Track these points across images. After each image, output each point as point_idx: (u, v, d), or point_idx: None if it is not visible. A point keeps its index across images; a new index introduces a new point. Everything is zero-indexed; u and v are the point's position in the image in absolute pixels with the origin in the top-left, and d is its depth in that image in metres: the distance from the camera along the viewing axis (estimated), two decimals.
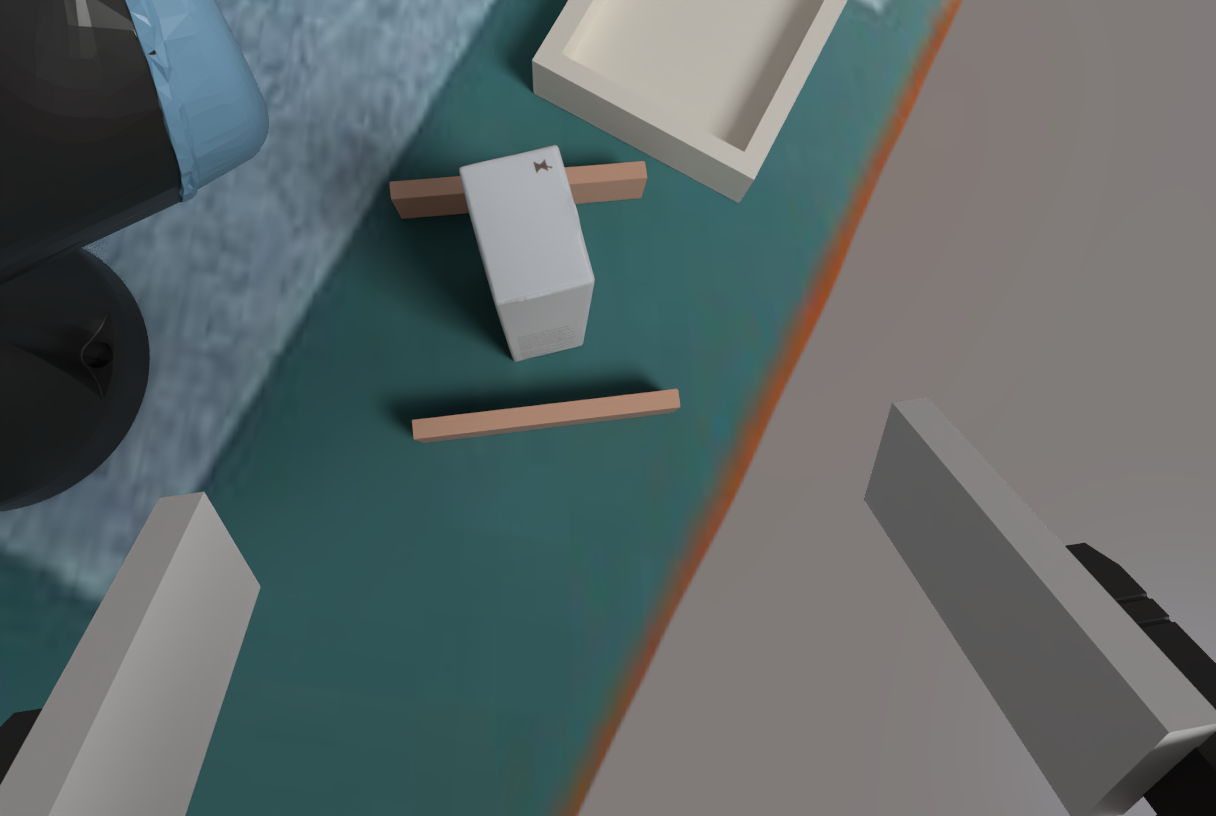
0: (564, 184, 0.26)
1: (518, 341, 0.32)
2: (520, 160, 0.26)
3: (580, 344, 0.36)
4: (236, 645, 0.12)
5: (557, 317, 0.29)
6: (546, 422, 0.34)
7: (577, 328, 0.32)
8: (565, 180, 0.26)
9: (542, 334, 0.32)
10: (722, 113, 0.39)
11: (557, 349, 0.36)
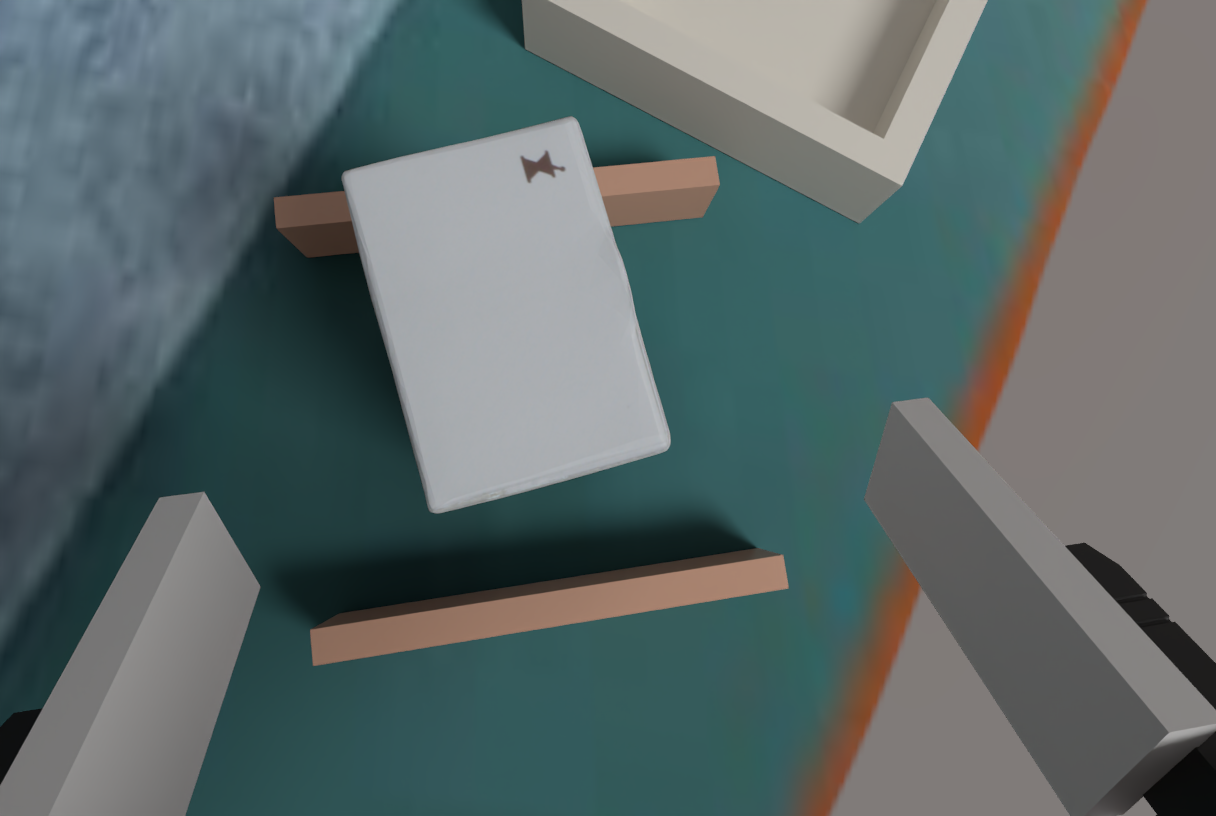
0: (594, 209, 0.11)
1: None
2: (489, 153, 0.11)
3: None
4: (236, 645, 0.12)
5: None
6: (553, 624, 0.19)
7: None
8: (597, 199, 0.11)
9: None
10: (833, 77, 0.24)
11: None
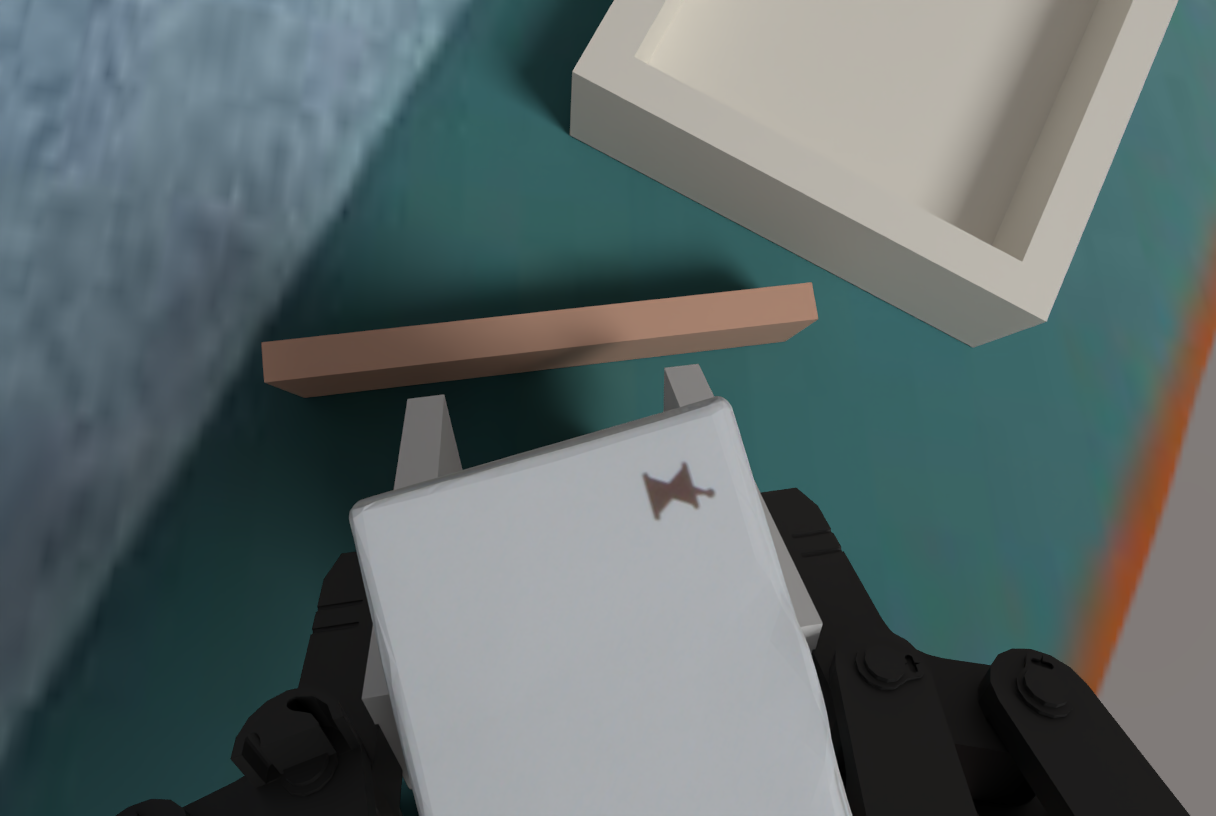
0: (763, 560, 0.07)
1: None
2: (592, 471, 0.07)
3: None
4: None
5: None
6: None
7: None
8: (766, 543, 0.07)
9: None
10: (944, 172, 0.19)
11: None
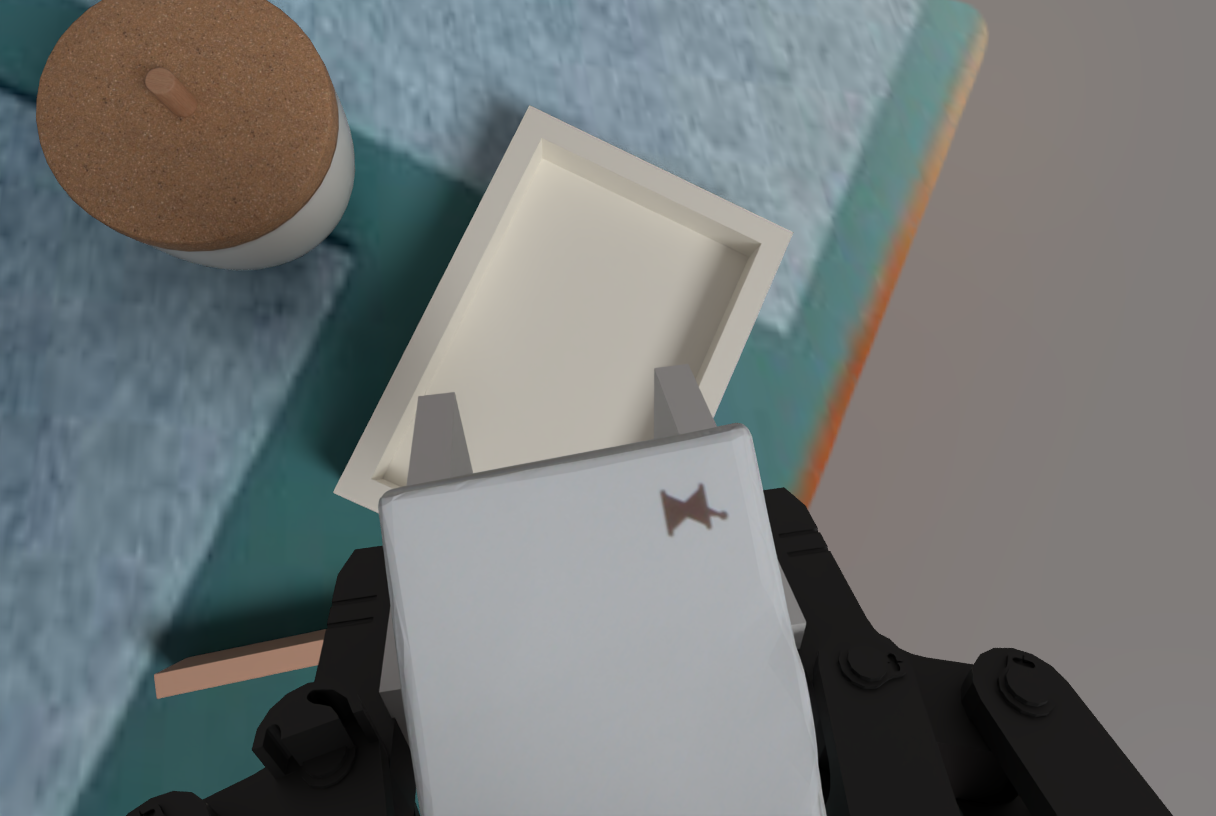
0: (768, 585, 0.07)
1: None
2: (613, 484, 0.07)
3: None
4: None
5: None
6: None
7: None
8: (772, 569, 0.07)
9: None
10: None
11: None
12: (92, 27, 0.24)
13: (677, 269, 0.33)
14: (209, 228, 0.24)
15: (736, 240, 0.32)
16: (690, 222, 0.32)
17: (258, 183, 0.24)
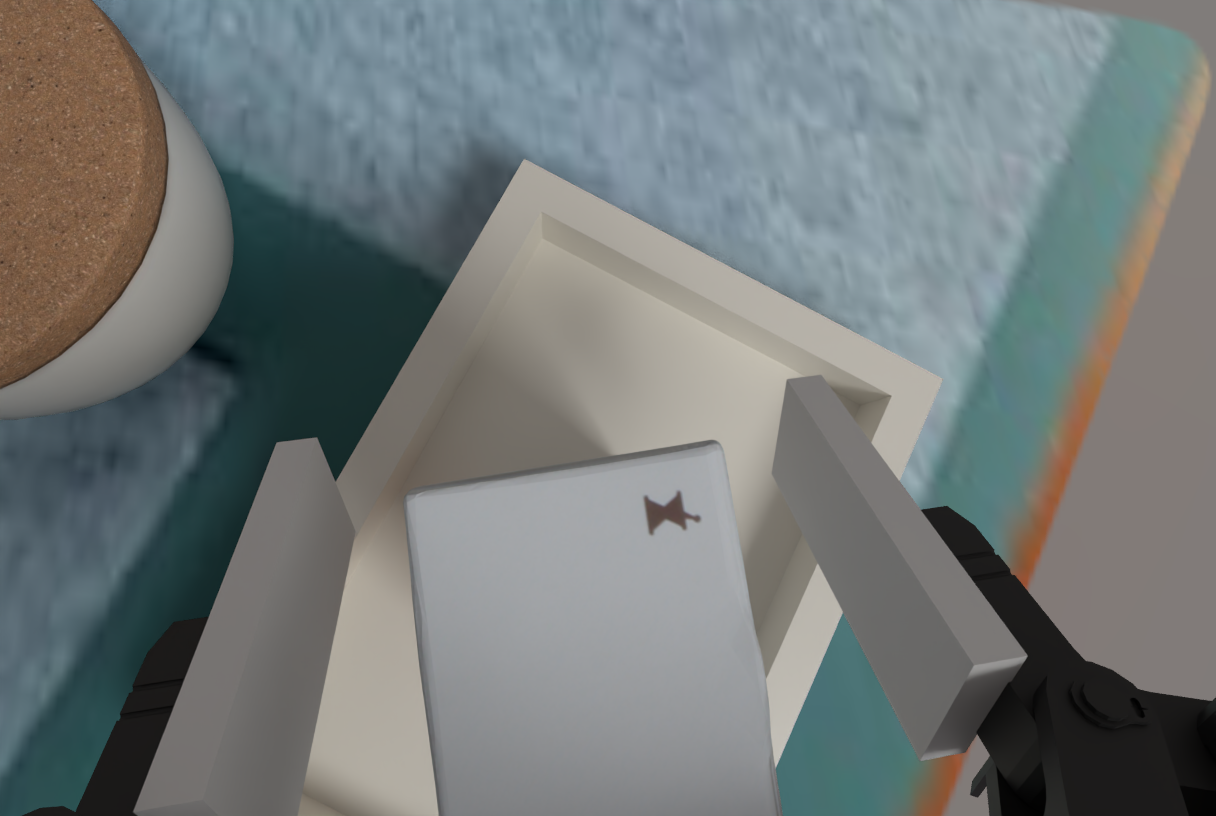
0: (733, 579, 0.08)
1: None
2: (603, 489, 0.08)
3: None
4: (342, 580, 0.13)
5: None
6: None
7: None
8: (737, 566, 0.08)
9: None
10: None
11: None
12: None
13: (747, 421, 0.21)
14: None
15: (846, 384, 0.20)
16: (772, 350, 0.20)
17: None
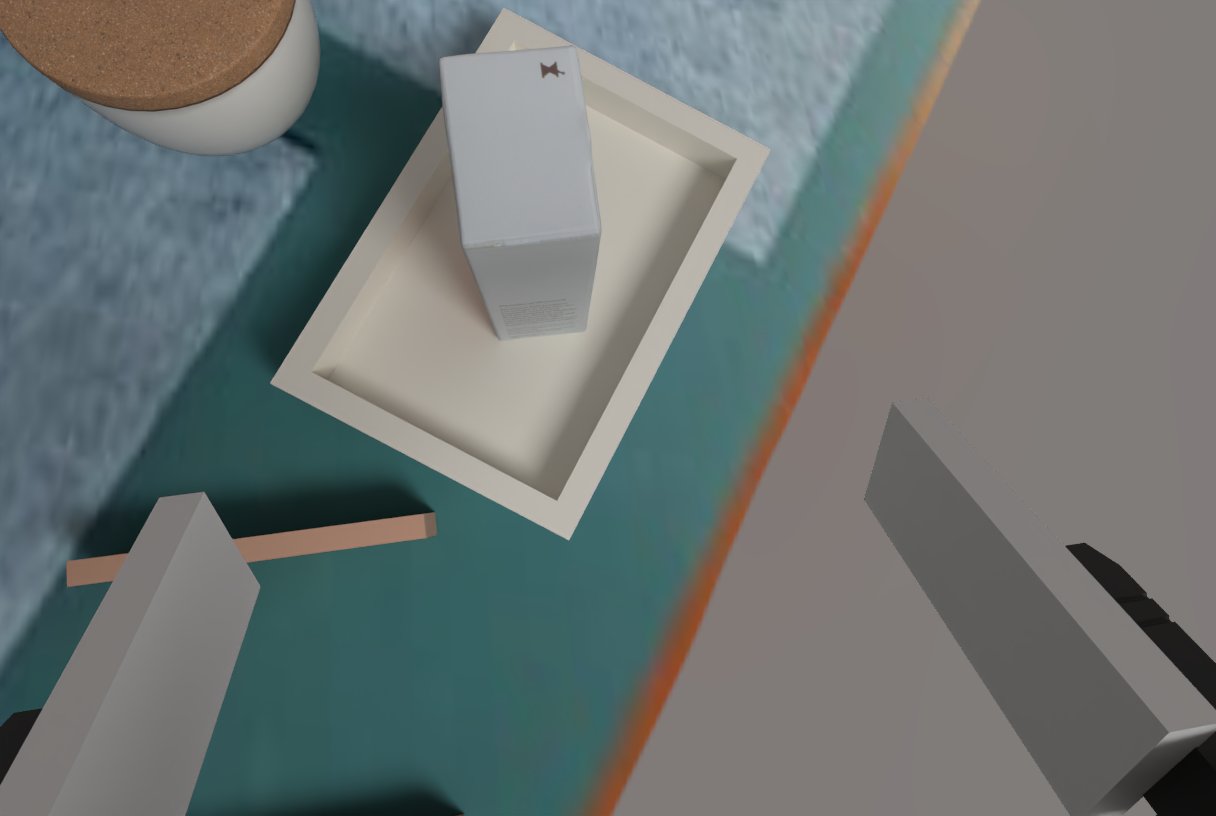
0: (578, 98, 0.19)
1: (501, 311, 0.25)
2: (523, 58, 0.19)
3: (582, 329, 0.29)
4: (236, 645, 0.12)
5: (551, 283, 0.22)
6: None
7: (578, 305, 0.25)
8: (580, 93, 0.19)
9: (532, 306, 0.25)
10: (543, 422, 0.29)
11: (553, 332, 0.29)
12: None
13: (650, 187, 0.31)
14: (150, 82, 0.23)
15: (711, 158, 0.31)
16: (665, 138, 0.31)
17: (204, 41, 0.23)
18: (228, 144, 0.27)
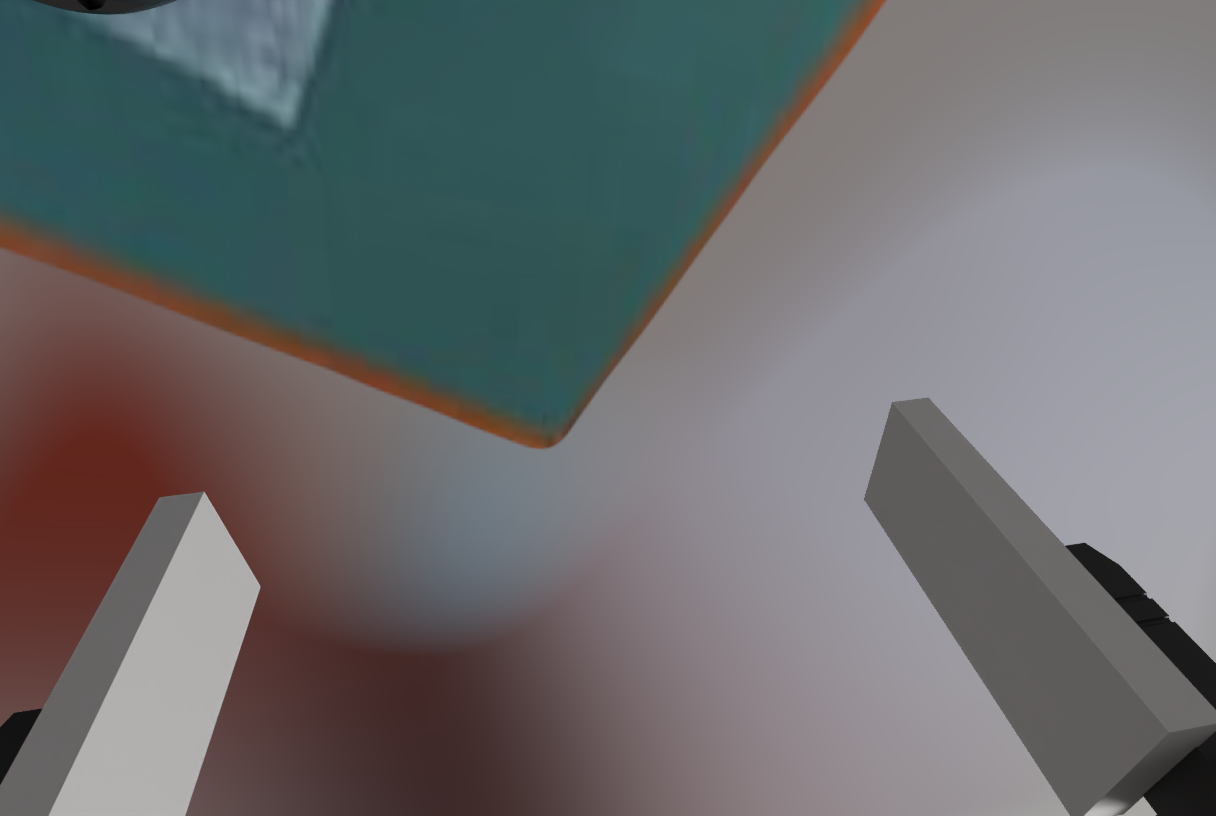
0: None
1: None
2: None
3: None
4: (236, 645, 0.12)
5: None
6: None
7: None
8: None
9: None
10: None
11: None
12: None
13: None
14: None
15: None
16: None
17: None
18: None
